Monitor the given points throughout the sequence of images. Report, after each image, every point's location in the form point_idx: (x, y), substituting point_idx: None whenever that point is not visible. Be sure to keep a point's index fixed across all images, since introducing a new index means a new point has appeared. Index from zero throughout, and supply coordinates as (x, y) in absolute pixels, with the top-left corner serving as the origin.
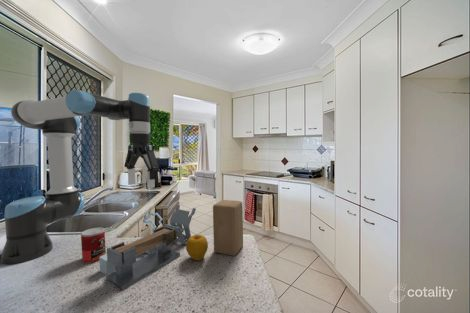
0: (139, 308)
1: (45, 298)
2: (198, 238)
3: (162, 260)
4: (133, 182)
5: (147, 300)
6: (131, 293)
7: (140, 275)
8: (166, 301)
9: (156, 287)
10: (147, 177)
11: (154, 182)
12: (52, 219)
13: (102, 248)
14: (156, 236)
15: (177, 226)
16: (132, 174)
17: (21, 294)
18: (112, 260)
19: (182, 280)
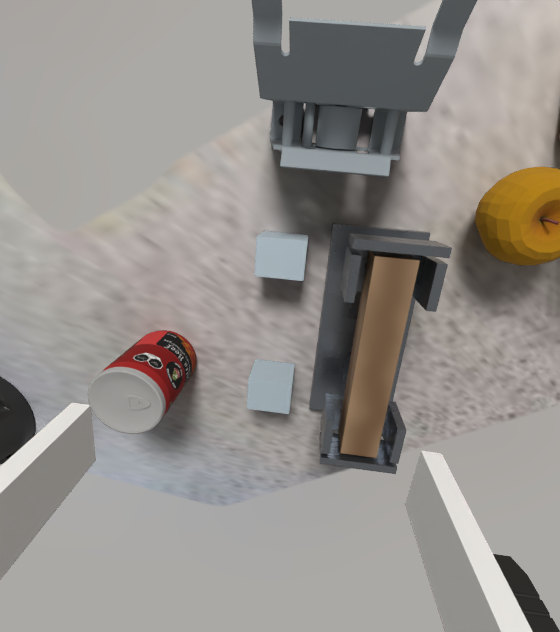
0: (471, 431)
1: (255, 475)
2: (552, 209)
3: None
4: (80, 434)
5: (471, 412)
6: (415, 410)
7: (395, 374)
8: (518, 399)
9: (461, 376)
10: (449, 624)
11: (461, 498)
12: None
13: (184, 363)
14: (402, 335)
15: (337, 117)
16: (10, 524)
17: (197, 484)
18: None
19: (515, 331)
